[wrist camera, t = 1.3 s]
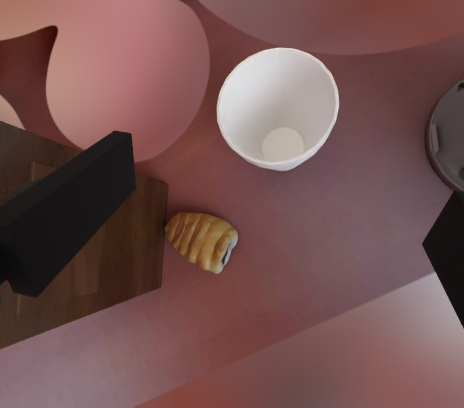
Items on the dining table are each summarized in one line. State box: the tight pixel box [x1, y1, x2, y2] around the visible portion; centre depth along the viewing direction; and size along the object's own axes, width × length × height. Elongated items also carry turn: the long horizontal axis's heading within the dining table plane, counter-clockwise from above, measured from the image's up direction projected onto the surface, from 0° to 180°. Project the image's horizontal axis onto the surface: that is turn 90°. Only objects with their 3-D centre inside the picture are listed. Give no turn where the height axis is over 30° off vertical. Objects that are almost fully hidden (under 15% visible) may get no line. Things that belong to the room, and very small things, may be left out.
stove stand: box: [0, 121, 168, 349], centre depth 29 cm, size 14×14×28 cm
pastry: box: [165, 212, 238, 274], centre depth 38 cm, size 9×7×4 cm
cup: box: [217, 48, 339, 171], centre depth 33 cm, size 10×10×14 cm
